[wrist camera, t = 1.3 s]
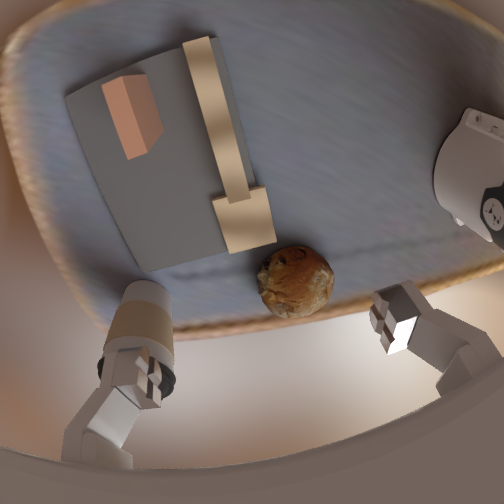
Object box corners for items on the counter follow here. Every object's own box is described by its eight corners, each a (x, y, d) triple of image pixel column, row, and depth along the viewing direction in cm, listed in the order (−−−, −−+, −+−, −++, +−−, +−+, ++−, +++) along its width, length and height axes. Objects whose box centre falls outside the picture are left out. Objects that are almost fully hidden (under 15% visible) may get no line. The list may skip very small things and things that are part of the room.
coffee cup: (139, 326, 41) (127, 414, 29) (104, 285, 36) (77, 379, 24) (190, 310, 41) (190, 405, 28) (158, 264, 35) (143, 367, 23)
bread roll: (269, 287, 45) (291, 333, 41) (235, 270, 37) (259, 327, 33) (324, 252, 42) (350, 298, 38) (301, 226, 34) (334, 282, 30)
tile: (146, 74, 22) (121, 76, 15) (164, 130, 25) (147, 152, 19) (130, 80, 22) (100, 85, 15) (148, 135, 25) (127, 160, 19)
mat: (218, 38, 21) (218, 36, 20) (267, 235, 35) (269, 240, 34) (68, 96, 22) (63, 97, 21) (144, 268, 35) (143, 273, 34)
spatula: (166, 51, 21) (162, 49, 19) (227, 34, 20) (228, 31, 19) (229, 250, 34) (230, 263, 32) (275, 238, 34) (280, 250, 32)
